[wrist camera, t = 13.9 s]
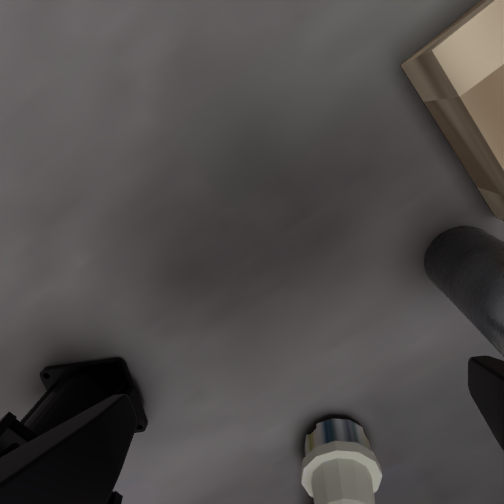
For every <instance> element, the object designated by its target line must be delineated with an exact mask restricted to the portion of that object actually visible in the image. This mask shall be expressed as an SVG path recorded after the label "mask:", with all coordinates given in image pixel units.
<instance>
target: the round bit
mask: <svg viewBox="0 0 504 504" xmlns="http://www.w3.org/2000/svg"><path fill="white" fill-rule="evenodd" d="M424 265H425V270H426V273H427V275H428V277H429V278H430V279H431V280H432V281H433V282H434V283H435V285H436V286H437V287H438V288H439V289H440V290H441V291H442V292H443V293H444V294H445V295H446V296H447V297H448V298H449V299H450V300H451V301H452V302H453V304H454V305H455V306H456V307H457V308H458V309H459V310H460V311H461V312H462V313H463V314H464V315H465V316H466V317H467V318H468V319H469V320H470V321H471V323H472V324H473V325H474V326H475V327H476V328H477V329H478V330H479V331H480V332H481V333H482V334H483V335H484V336H485V337H486V338H487V339H488V340H489V342H490V343H491V344H492V345H493V346H494V347H495V348H496V349H497V350H498V351H499V352H500V353H501V354H502V355H503V356H504V242H503V241H501V240H499V239H497V238H496V237H494V236H492V235H490V234H488V233H486V232H484V231H483V230H480V229H478V228H475V227H470V226H462V227H456V228H452V229H450V230H447V231H445V232H444V233H442V234H440V235H439V236H438V237H437V238H436V239H435V240H434V241H433V242H432V243H431V244H430V246H429V248H428V250H427V252H426V255H425V260H424Z"/></svg>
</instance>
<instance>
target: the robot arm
mask: <svg viewBox="0 0 504 504" xmlns="http://www.w3.org/2000/svg"><path fill="white" fill-rule="evenodd" d="M116 365H118V366H119V367H118V366H116ZM40 377H41V379H42V381H43V383H44V385H45V387H46V390H47V392H46V393H45V394H44V395H43V396H42V397H41V399H40V400H39V401H38V402H37V403H36V404H35V405H34V407H33V408H32V409H31V410H30V411H29V412H28V413H27V415H26V416H25V417H24V418H23V419H22V420H21V422H19V421H18V420H17V419H16V416H15V415H13V414H12V413H11V412H8V413H7V414H6V415H5V416H4V417H3V418H2V419H1V420H0V504H121V502H122V497H123V496H122V495H120V494H119V493H118V492H116V491H115V492H113V491H112V490H113V488H114V486H115V484H116V482H117V479H118V477H119V474H120V472H121V469H122V467H123V464H124V461H125V458H126V455H127V452H128V449H129V446H130V444H131V441H132V438H133V435H134V433H137V432H143V431H145V429H146V427H147V425H148V424H147V420H146V417H145V415H144V410H143V407H142V404H141V402H140V399H139V396H138V394H137V391H136V388H135V386H134V385H133V383H132V380H131V378H130V375H129V372H128V370H127V367H126V364H125V362H124V361H123V360H122V359H119V358H114V359H106V360H98V361H90V362H82V363H74V364H66V365H58V366H50V367H45V368H44V369H43V370H42V371H41V372H40ZM468 387H469V391H470V394H471V396H472V398H473V400H474V401H475V403H476V405H477V407H478V408H479V410H480V412H481V414H482V415H483V417H484V419H485V421H486V422H487V424H488V426H489V428H490V429H491V431H492V433H493V435H494V436H495V438H496V440H497V441H498V443H499V445H500V446H501V448H502V449H503V451H504V361H502V360H499V359H496V358H493V357H490V356H476V357H471V358H470V359H469V361H468Z"/></svg>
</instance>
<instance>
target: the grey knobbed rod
mask: <svg viewBox="0 0 504 504" xmlns="http://www.w3.org/2000/svg"><path fill="white" fill-rule="evenodd" d="M381 478H382V472H381V468H380V465H379V463H378V461H377V459H376V457H375V455H374V453H373V451H371V449H370V445H369V440H368V439H367V438H366V436H365V434H364V431H363V427H361V426H359V425H358V424H356V423H354V422H352V421H351V420H347V419H334V418H332V419H329V420H326V421H323V422H320V423H317V424H316V429H315V430H314V431H313V432H312V433H311V434H310V435H309V434H306V440H305V458H304V459H303V462H302V470H301V483H302V485H303V486H304V488H305V489H306V491H307V493H308V494H309V496H311V497H313V498H314V504H375V500H374V493H375V492H376V491H377V490H378V488H379V485H380V481H381Z"/></svg>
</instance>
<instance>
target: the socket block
mask: <svg viewBox="0 0 504 504" xmlns="http://www.w3.org/2000/svg"><path fill="white" fill-rule="evenodd" d="M401 67H402V68H403V70H404V72H405V73H406V75H407V76H408V78H409V80H410V81H411V83H412V84H413V86H414V88H415V89H416V91H417V92H418V94H419V96H420V97H421V99H422V100H423V102H424V104H425V105H426V107H427V108H428V110H429V112H430V113H431V115H432V116H433V118H434V120H435V121H436V123H437V124H438V126H439V128H440V129H441V131H442V132H443V134H444V136H445V137H446V139H447V140H448V142H449V144H450V145H451V147H452V148H453V150H454V152H455V153H456V155H457V156H458V158H459V160H460V161H461V163H462V164H463V166H464V168H465V169H466V171H467V172H468V174H469V175H470V177H471V179H472V180H473V182H474V183H475V185H476V187H477V188H478V190H479V191H480V193H481V195H482V196H483V198H484V199H485V201H486V203H487V204H488V206H489V207H490V209H491V211H492V212H493V214H494V215H495V217H496V218H499V219H501V220H503V221H504V0H481V1H479V2H478V3H477V4H476V5H474V6H473V7H472V8H471V9H470V10H468V11H467V12H466V13H465V14H463V15H462V16H461V17H460V18H458V19H457V20H456V21H455V22H453V23H452V24H451V25H450V26H449V27H447V28H446V29H445V30H444V31H442V32H441V33H440V34H439V35H437V36H436V37H435V38H434V39H432V40H431V41H430V42H429V43H427V44H426V45H425V46H424V47H423V48H421V49H420V50H419V51H418V52H416V53H415V54H414V55H413V56H411V57H410V58H409V59H408V60H406V61H405V62H404V63H403V64H402V65H401Z"/></svg>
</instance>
